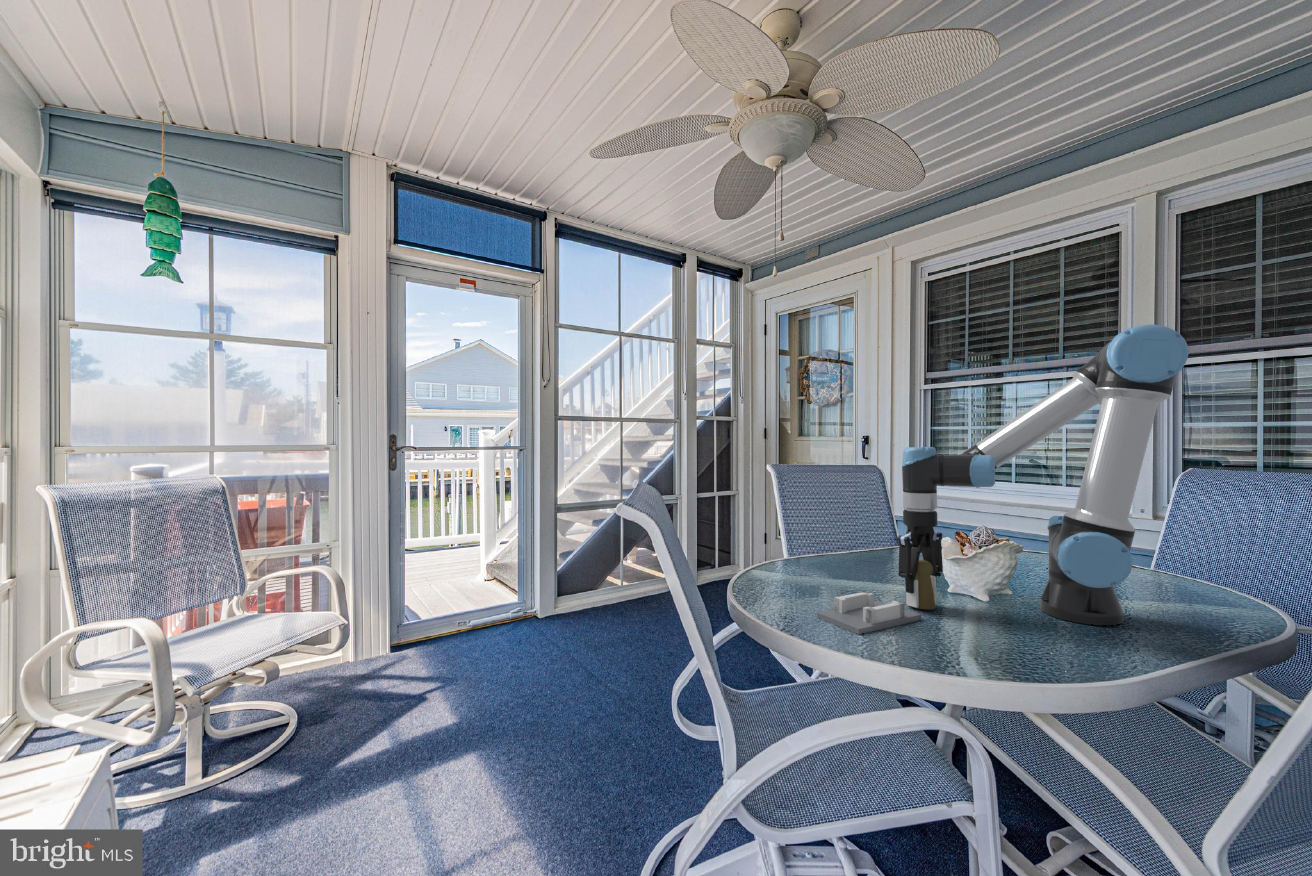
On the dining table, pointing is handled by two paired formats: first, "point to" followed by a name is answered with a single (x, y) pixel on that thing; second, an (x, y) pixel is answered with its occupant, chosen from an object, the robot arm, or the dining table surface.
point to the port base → (866, 613)
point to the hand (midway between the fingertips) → (921, 603)
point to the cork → (925, 585)
